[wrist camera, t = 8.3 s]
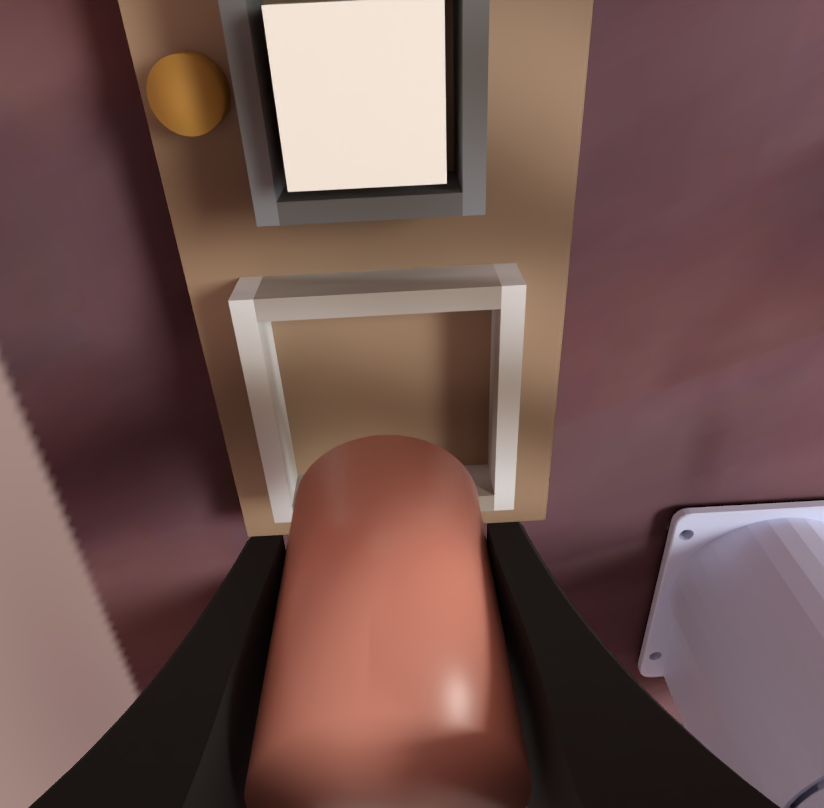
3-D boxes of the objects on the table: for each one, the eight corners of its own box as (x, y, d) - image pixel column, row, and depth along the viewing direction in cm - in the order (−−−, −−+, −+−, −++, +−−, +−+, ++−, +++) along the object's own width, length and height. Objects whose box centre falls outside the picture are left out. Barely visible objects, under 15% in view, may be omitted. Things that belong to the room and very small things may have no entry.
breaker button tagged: (438, 159, 15) (446, 183, 13) (299, 166, 15) (287, 191, 13) (436, -5, 13) (444, -4, 11) (278, 3, 13) (261, 4, 11)
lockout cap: (472, 572, 15) (516, 859, 10) (301, 575, 15) (260, 869, 10) (485, 434, 13) (549, 710, 8) (287, 435, 13) (224, 718, 8)
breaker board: (536, 490, 23) (559, 563, 20) (255, 506, 23) (236, 582, 20) (607, -399, 12) (682, -529, 9) (55, -374, 12) (-55, -497, 9)
